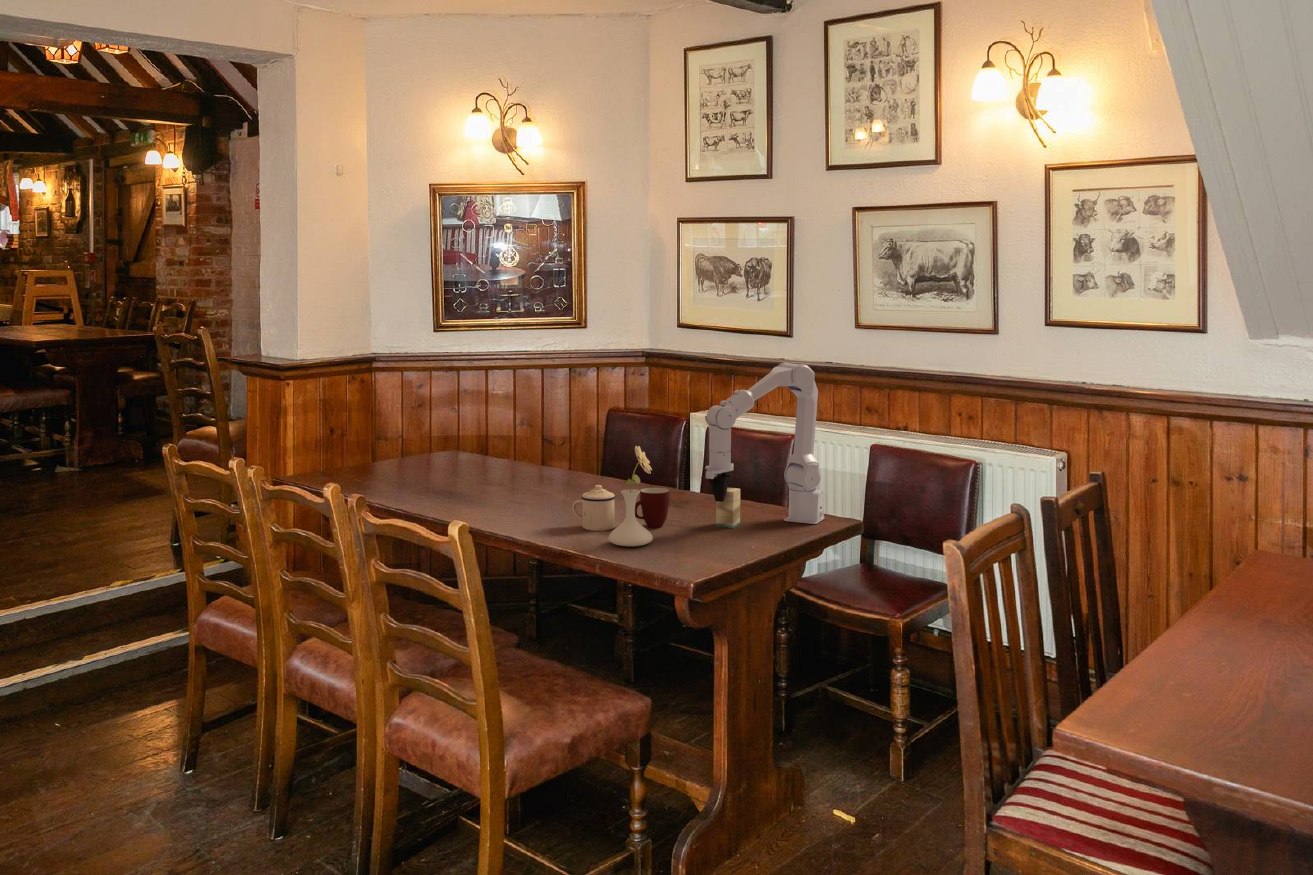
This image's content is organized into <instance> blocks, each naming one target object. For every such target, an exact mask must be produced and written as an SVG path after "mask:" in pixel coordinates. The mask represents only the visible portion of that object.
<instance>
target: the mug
mask: <svg viewBox="0 0 1313 875" xmlns="http://www.w3.org/2000/svg"><path fill="white" fill-rule="evenodd" d="M639 491H640V493H639V501H636V503H635V518H636V519H638V520H644V523H645V524H646V526H647V527H648V528H650V529H660V528H662V527H663V526H664V524H665V522H666V520H667V518H668V515H669V514H668V511H669V508H670V507H669V506H670V500H671V491H670V489H669V488H664V487H645V488H641V489H640V490H639ZM639 506H640V508H641V514H642V516H641V515H638V508H639Z"/></svg>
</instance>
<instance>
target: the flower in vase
mask: <svg viewBox="0 0 1313 875" xmlns="http://www.w3.org/2000/svg"><path fill="white" fill-rule="evenodd" d="M634 453H635V456H636V459H637V461H638V462H637V463H636V465H635V467H634V469H633V471H632V472H633V473H632V475H631V478H628V479H627V480H626V482H625V483H624V485H626V486H630V487H629V489H623V490H620V493H621V495H622V496H623V498H624V502H625V503H624V504H625V518H624V519H623V520H624V521H623V522H622V523H621V524H619V525H618V526H617V527H616V528H614V529H613V530H612V531H611V532H610V533H609V535H608V541H609V542H610V543H611V544H614V545H615V546H620V547H640V546H644V545H647V544H650V543H651V542H652V541H653V539H654V537H653V535H652V533H651V532H650V531H649V530H648V529H647V528H645V527H644V526H643V524H641V523H640V522H638V520H637V518H636V517H635V503H636V502H637V498H638V496H639V495H640V490H639V489H632V488H633V485H634V484H635V483H636V484H637V485H639V484H640V483H641V478H640V476H638V474H635V473H636V471H637V468H638V466H639V465H640V466H641V468H642V469H643V471H644V472H645V473H647V474H652V473H651V471H653V469H652V466H651V465H650V464H651V462H650V460H649V459H648V458H647V455H646V452H645V451H642V449H641V446H640V445H638V446H637V445H635V447H634Z"/></svg>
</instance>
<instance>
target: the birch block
mask: <svg viewBox="0 0 1313 875" xmlns="http://www.w3.org/2000/svg"><path fill="white" fill-rule="evenodd" d="M715 504H716V505H715V509H716V511H715V527H717V528H726V527H728V529H735V528H737V527H738V526H740V525H741V488H736V487H728V488H727V491H726V496H725V500H724V501H723V502H718V501H715ZM734 527H735V528H734Z"/></svg>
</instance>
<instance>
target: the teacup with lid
mask: <svg viewBox="0 0 1313 875" xmlns="http://www.w3.org/2000/svg"><path fill="white" fill-rule="evenodd" d="M615 499H616V495H615V494H614V493H613V492H610V491H608V490H607V489H605V488H603V486H602V485H601V484H595V485H594V488H592V489H590V490H589V491H588V492H584V493H583V494H582V495H581V499H577V500H575V501H574V502H573V503H572V512H573V514H574V515H575V516H576V517H577V518H579V519H582V528H583V529H585V530H586V531H591V532H592V531H593V532H602V531H603V532H604V531H611V530H612V529H613V530H614V529H615ZM579 503H580V504H581V503H582V514H580V513H579V512H578V511H577V506H576V505H577V504H579Z"/></svg>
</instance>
